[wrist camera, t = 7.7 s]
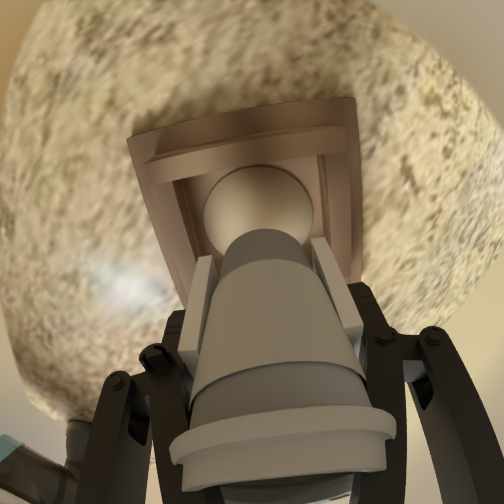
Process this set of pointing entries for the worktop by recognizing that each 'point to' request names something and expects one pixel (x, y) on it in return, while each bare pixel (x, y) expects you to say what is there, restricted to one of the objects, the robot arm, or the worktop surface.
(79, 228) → the worktop surface
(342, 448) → the cup
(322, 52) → the worktop surface
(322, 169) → the holder
